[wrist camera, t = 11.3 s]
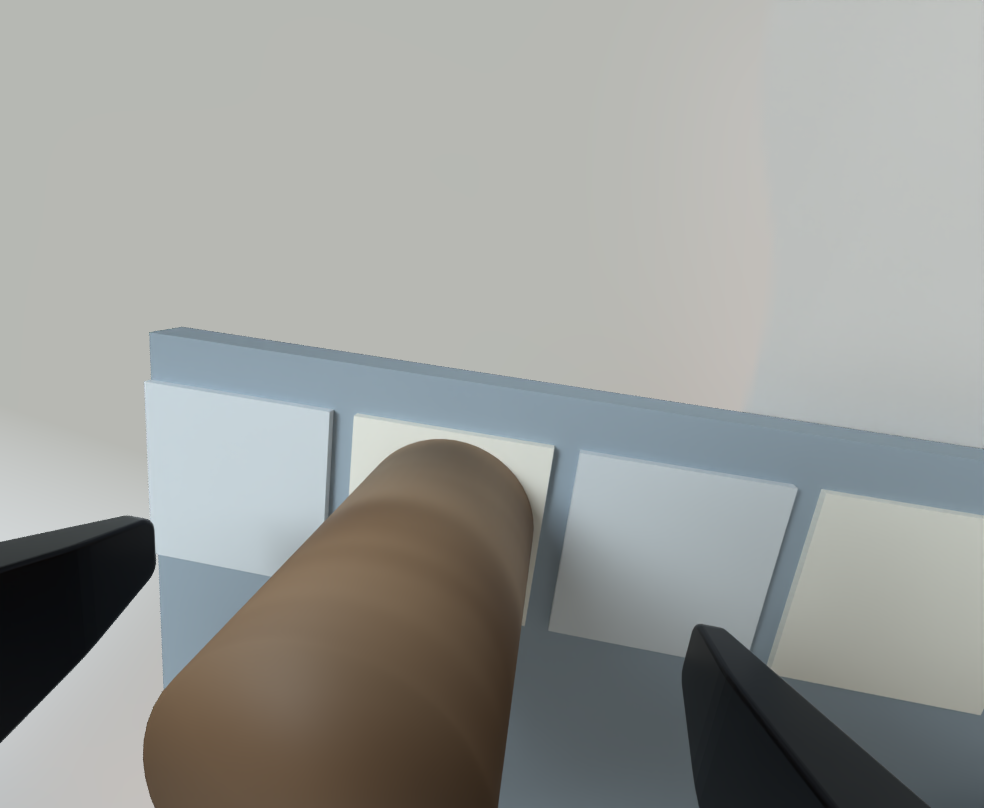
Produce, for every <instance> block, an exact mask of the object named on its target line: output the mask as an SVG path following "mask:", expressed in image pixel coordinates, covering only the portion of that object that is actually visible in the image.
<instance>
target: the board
mask: <svg viewBox="0 0 984 808" xmlns="http://www.w3.org/2000/svg"><path fill="white" fill-rule="evenodd" d="M149 335H150V359H151V360H150V361H151V380H148V381H145V382H144V390H145V412H146V432H147V433H146V434H147V458H148V479H149V504H150V521H151V522H152V523H153V525H154V529H155V551H156V554H158V559H159V584H160V608H161V633H162V659H163V684H164V689H165V688H166V687H167V686H168V685H169V683H170V682H171V681H172V680H173V679H174V678H175V677H176V675H177V674H178V673H179V672H180V671H181V670H182V669H183V668H184V667H185V666H186V665H187V664H188V663H189V662H190V661H191V660H192V659H193V658H194V657H195V656H196V655H197V654H198V653H199V652H200V650H201V649H202V648H203V647H204V646H205V645H206V644H207V643H208V642H209V641H210V640H211V639H212V638H213V637H214V636H215V635H216V634H217V633H218V632H219V631H220V630H221V629H222V628H223V627H224V625H225V624H226V623H227V622H228V621H229V620H230V619H231V618H232V617H233V616H234V615H235V614H236V613H237V612H238V611H239V610H240V609H241V608H242V607H243V606H244V605H245V604H246V603H247V602H248V600H249V599H250V598H251V597H252V596H253V595H254V594H255V593H256V592H257V591H258V590H259V589H260V588H261V587H262V586H263V585H264V584H265V583H266V582H267V581H268V580H269V579H270V578H271V577H272V575H273V574H274V573H275V572H276V571H277V570H278V569H279V568H280V567H281V566H282V565H283V564H284V563H285V562H286V561H287V560H288V559H289V558H290V557H291V556H292V555H293V554H294V553H295V552H296V550H297V549H298V548H299V547H300V546H301V545H302V544H303V543H304V542H305V541H306V540H307V539H308V538H309V537H310V536H311V535H312V534H313V533H314V532H315V531H316V530H317V529H318V528H319V527H320V525H321V524H322V523H323V522H324V521H325V520H326V519H327V518H328V517H329V516H330V515H331V514H332V513H333V512H334V511H335V510H336V509H337V508H338V507H339V506H340V505H341V504H342V503H343V502H344V500H345V499H346V498H347V497H348V496H349V495H350V494H351V493H352V492H353V491H354V490H355V489H356V488H357V487H358V486H359V485H360V484H361V483H362V482H363V481H364V480H365V479H366V478H367V477H368V475H369V474H370V473H371V472H372V471H373V470H374V469H375V468H376V467H377V466H378V465H379V464H380V463H381V462H382V461H383V460H384V459H385V458H387V457H388V456H389V455H390V454H392V453H393V452H395V451H396V450H398V449H400V448H402V447H404V446H406V445H409V444H412V443H415V442H418V441H423V440H430V439H449V440H457V441H461V442H465V443H469V444H471V445H474V446H477V447H479V448H481V449H483V450H485V451H487V452H489V453H490V454H492V455H493V456H495V457H496V458H498V459H499V460H500V461H501V462H502V463H504V464H505V465H506V466H507V467H508V468H509V469H510V470H511V471H512V473H513V474H514V475H515V476H516V477H517V479H518V480H519V482H520V483H521V485H522V486H523V488H524V490H525V492H526V494H527V497H528V499H529V502H530V505H531V509H532V514H533V525H534V531H533V541H532V549H531V556H530V564H529V572H528V580H527V587H526V595H525V603H524V610H523V618H522V626H521V634H520V641H519V649H518V657H517V664H516V672H515V680H514V688H513V695H512V703H511V711H510V719H509V726H508V734H507V742H506V749H505V757H504V765H503V773H502V780H501V788H500V796H499V803H498V808H699V805H698V801H697V796H696V791H695V786H694V779H693V772H692V764H691V756H690V748H689V740H688V732H687V724H686V715H685V707H684V699H683V691H682V668H683V664H684V660H685V656H686V652H687V648H688V645H689V641H690V637H691V633H692V630H693V628H694V627H695V625H697V624H705V625H711V626H716V627H721V628H724V629H725V630H726V631H728V632H729V633H730V634H731V635H732V636H733V637H735V638H736V639H737V640H738V641H739V642H740V643H742V644H743V645H744V646H745V647H746V648H747V649H749V650H750V651H751V652H752V653H753V654H754V655H755V656H757V657H758V658H759V659H760V660H761V661H762V662H764V663H765V664H766V665H767V666H768V667H769V668H770V669H772V670H773V671H774V672H775V673H776V674H777V675H779V676H780V677H781V678H782V679H783V680H784V681H786V682H787V683H788V684H789V685H790V686H791V687H792V688H794V689H795V690H796V691H797V692H798V693H799V694H801V695H802V696H803V697H804V698H805V699H806V700H807V701H809V702H810V703H811V704H812V705H813V706H814V707H816V708H817V709H818V710H819V711H820V712H821V713H822V714H824V715H825V716H826V717H827V718H828V719H829V720H831V721H832V722H833V723H834V724H835V725H836V726H838V727H839V728H840V729H841V730H842V731H843V732H844V733H846V734H847V735H848V736H849V737H850V738H851V739H853V740H854V741H855V742H856V743H857V744H858V745H859V746H861V747H862V748H863V749H864V750H865V751H866V752H868V753H869V754H870V755H871V756H872V757H873V758H875V759H876V760H877V761H878V762H879V763H880V764H881V765H883V766H884V767H885V768H886V769H887V770H888V771H890V772H891V773H892V774H893V775H894V776H895V777H896V778H898V779H899V780H900V781H901V782H902V783H903V784H905V785H906V786H907V787H908V788H909V789H910V790H912V791H913V792H914V793H915V794H916V795H917V796H918V797H920V798H921V799H922V800H923V801H924V802H925V803H927V804H928V805H929V806H930V807H931V808H984V449H980V448H973V447H967V446H960V445H954V444H947V443H941V442H934V441H927V440H921V439H914V438H908V437H901V436H895V435H888V434H882V433H875V432H868V431H862V430H855V429H849V428H842V427H836V426H829V425H822V424H816V423H809V422H803V421H796V420H790V419H783V418H777V417H770V416H763V415H757V414H750V413H744V412H737V411H731V410H724V409H718V408H710V407H704V406H698V405H691V404H685V403H678V402H672V401H665V400H659V399H651V398H645V397H638V396H632V395H625V394H619V393H613V392H606V391H600V390H593V389H586V388H580V387H573V386H566V385H559V384H554V383H547V382H540V381H534V380H527V379H521V378H514V377H507V376H501V375H494V374H488V373H481V372H475V371H468V370H462V369H455V368H449V367H442V366H436V365H429V364H422V363H415V362H409V361H403V360H396V359H389V358H382V357H376V356H370V355H363V354H356V353H350V352H343V351H337V350H331V349H324V348H318V347H310V346H304V345H298V344H291V343H285V342H278V341H272V340H265V339H258V338H252V337H245V336H239V335H232V334H225V333H219V332H213V331H206V330H199V329H193V328H186V327H179V328H173V329H167V330H160V331H154V332H149Z"/></svg>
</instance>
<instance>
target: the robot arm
mask: <svg viewBox="0 0 984 808" xmlns="http://www.w3.org/2000/svg"><path fill="white" fill-rule="evenodd" d="M155 565H156V551H155V529H154V525H153V523H152V522H151V521H150V520H148V519H144V518H139V517H133V516H121V517H117V518H111V519H107V520H102V521H97V522H93V523H88V524H84V525H79V526H74V527H69V528H64V529H60V530H55V531H51V532H45V533H41V534H36V535H32V536H27V537H22V538H18V539H12V540H8V541H3V542H0V743H1V742H2V741H3V740H4V739H5V738H6V737H7V736H8V735H9V734H10V733H11V732H12V730H14V729H15V728H16V727H17V726H18V725H19V724H20V723H21V722H22V720H23V719H24V718H25V717H26V716H27V715H28V714H29V713H30V712H31V711H32V710H33V709H34V708H35V707H36V706H37V705H38V704H39V703H40V702H41V701H42V700H43V699H44V698H45V697H46V696H47V695H48V694H49V693H50V692H51V691H52V690H53V689H54V688H55V687H56V686H57V685H58V684H59V683H60V682H61V681H62V680H63V678H65V677H66V676H67V675H68V673H69V672H70V671H72V669H73V668H74V667H75V666H76V665H77V664H78V663H79V662H80V661H81V660H82V659H83V658H84V657H85V656H86V655H87V653H88V652H89V651H90V650H91V649H92V648H93V646H94V645H95V644H96V643H97V642H98V641H99V639H100V638H101V637H102V636H103V635H104V633H105V632H106V631H107V630H108V629H109V627H110V626H111V625H112V624H113V622H114V621H115V620H116V619H117V618H118V616H119V615H120V614H121V613H122V612H123V611H124V609H125V608H126V607H127V606H128V604H129V603H130V602H131V601H132V599H133V598H134V597H135V596H136V595H137V593H138V592H139V591H140V590H141V589H142V587H143V586H144V585H145V584H146V583H147V582H148V580H149V579H150V578H151V576H152V574H153V572H154V569H155ZM682 691H683V699H684V707H685V715H686V724H687V732H688V740H689V748H690V756H691V764H692V772H693V779H694V786H695V791H696V796H697V801H698V805H699V808H931V807H930V806H929V805H928V804H927V803H925V802H924V801H923V800H922V799H921V798H920V797H918V796H917V795H916V794H915V793H914V792H913V791H912V790H910V789H909V788H908V787H907V786H906V785H905V784H903V783H902V782H901V781H900V780H899V779H898V778H896V777H895V776H894V775H893V774H892V773H891V772H890V771H888V770H887V769H886V768H885V767H884V766H883V765H881V764H880V763H879V762H878V761H877V760H876V759H875V758H873V757H872V756H871V755H870V754H869V753H868V752H866V751H865V750H864V749H863V748H862V747H861V746H859V745H858V744H857V743H856V742H855V741H854V740H853V739H851V738H850V737H849V736H848V735H847V734H846V733H844V732H843V731H842V730H841V729H840V728H839V727H838V726H836V725H835V724H834V723H833V722H832V721H831V720H829V719H828V718H827V717H826V716H825V715H824V714H822V713H821V712H820V711H819V710H818V709H817V708H816V707H814V706H813V705H812V704H811V703H810V702H809V701H807V700H806V699H805V698H804V697H803V696H802V695H801V694H799V693H798V692H797V691H796V690H795V689H794V688H792V687H791V686H790V685H789V684H788V683H787V682H786V681H784V680H783V679H782V678H781V677H780V676H779V675H777V674H776V673H775V672H774V671H773V670H772V669H770V668H769V667H768V666H767V665H766V664H765V663H764V662H762V661H761V660H760V659H759V658H758V657H757V656H755V655H754V654H753V653H752V652H751V651H750V650H749V649H747V648H746V647H745V646H744V645H743V644H742V643H740V642H739V641H738V640H737V639H736V638H735V637H733V636H732V635H731V634H730V633H729V632H728V631H726V630H725V629H724V628H721V627H716V626H711V625H705V624H697V625H695V627H694V628H693V630H692V633H691V637H690V641H689V645H688V648H687V652H686V656H685V660H684V664H683V668H682Z"/></svg>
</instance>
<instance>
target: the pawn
mask: <svg viewBox="0 0 984 808" xmlns="http://www.w3.org/2000/svg"><path fill="white" fill-rule="evenodd" d="M533 531H534V525H533V514H532V509H531V505H530V502H529V499H528V497H527V494H526V492H525V490H524V488H523V486H522V485H521V483H520V482H519V480H518V479H517V477H516V476H515V475H514V474H513V473H512V471H511V470H510V469H509V468H508V467H507V466H506V465H505V464H504V463H502V462H501V461H500V460H499V459H498V458H496V457H495V456H493V455H492V454H490V453H489V452H487V451H485V450H483V449H481V448H479V447H477V446H474V445H471V444H469V443H465V442H461V441H457V440H449V439H430V440H423V441H418V442H415V443H412V444H409V445H406V446H404V447H402V448H400V449H398V450H396V451H395V452H393V453H392V454H390V455H389V456H388V457H387V458H385V459H384V460H383V461H382V462H381V463H380V464H379V465H378V466H377V467H376V468H375V469H374V470H373V471H372V472H371V473H370V474H369V475H368V477H367V478H366V479H365V480H364V481H363V482H362V483H361V484H360V485H359V486H358V487H357V488H356V489H355V490H354V491H353V492H352V493H351V494H350V495H349V496H348V497H347V498H346V499H345V500H344V502H343V503H342V504H341V505H340V506H339V507H338V508H337V509H336V510H335V511H334V512H333V513H332V514H331V515H330V516H329V517H328V518H327V519H326V520H325V521H324V522H323V523H322V524H321V525H320V527H319V528H318V529H317V530H316V531H315V532H314V533H313V534H312V535H311V536H310V537H309V538H308V539H307V540H306V541H305V542H304V543H303V544H302V545H301V546H300V547H299V548H298V549H297V550H296V552H295V553H294V554H293V555H292V556H291V557H290V558H289V559H288V560H287V561H286V562H285V563H284V564H283V565H282V566H281V567H280V568H279V569H278V570H277V571H276V572H275V573H274V574H273V575H272V577H271V578H270V579H269V580H268V581H267V582H266V583H265V584H264V585H263V586H262V587H261V588H260V589H259V590H258V591H257V592H256V593H255V594H254V595H253V596H252V597H251V598H250V599H249V600H248V602H247V603H246V604H245V605H244V606H243V607H242V608H241V609H240V610H239V611H238V612H237V613H236V614H235V615H234V616H233V617H232V618H231V619H230V620H229V621H228V622H227V623H226V624H225V625H224V627H223V628H222V629H221V630H220V631H219V632H218V633H217V634H216V635H215V636H214V637H213V638H212V639H211V640H210V641H209V642H208V643H207V644H206V645H205V646H204V647H203V648H202V649H201V650H200V652H199V653H198V654H197V655H196V656H195V657H194V658H193V659H192V660H191V661H190V662H189V663H188V664H187V665H186V666H185V667H184V668H183V669H182V670H181V671H180V672H179V673H178V674H177V675H176V677H175V678H174V679H173V680H172V681H171V682H170V683H169V685H168V686H167V687H166V688H165V689H164V690H163V692H162V693H161V695H160V697H159V698H158V700H157V702H156V703H155V705H154V707H153V710H152V712H151V714H150V717H149V720H148V722H147V727H146V732H145V737H144V746H143V747H144V748H143V762H144V771H145V778H146V782H147V786H148V790H149V793H150V797H151V799H152V802H153V804H154V807H155V808H498V803H499V796H500V788H501V780H502V773H503V765H504V757H505V749H506V742H507V734H508V726H509V719H510V711H511V703H512V695H513V688H514V680H515V672H516V664H517V657H518V649H519V641H520V634H521V626H522V618H523V610H524V603H525V595H526V587H527V580H528V572H529V564H530V556H531V549H532V541H533Z"/></svg>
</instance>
